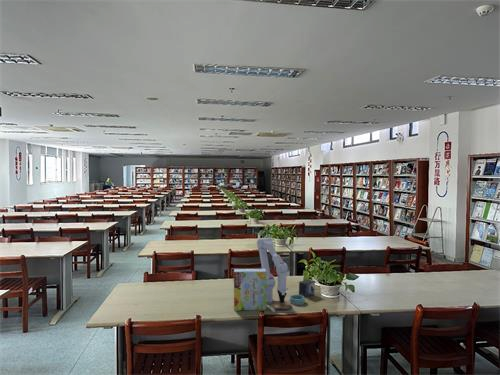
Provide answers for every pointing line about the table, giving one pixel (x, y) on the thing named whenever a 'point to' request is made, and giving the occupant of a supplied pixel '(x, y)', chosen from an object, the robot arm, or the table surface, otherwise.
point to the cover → (281, 305)
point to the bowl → (296, 299)
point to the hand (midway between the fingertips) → (281, 302)
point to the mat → (280, 309)
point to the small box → (306, 288)
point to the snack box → (249, 289)
